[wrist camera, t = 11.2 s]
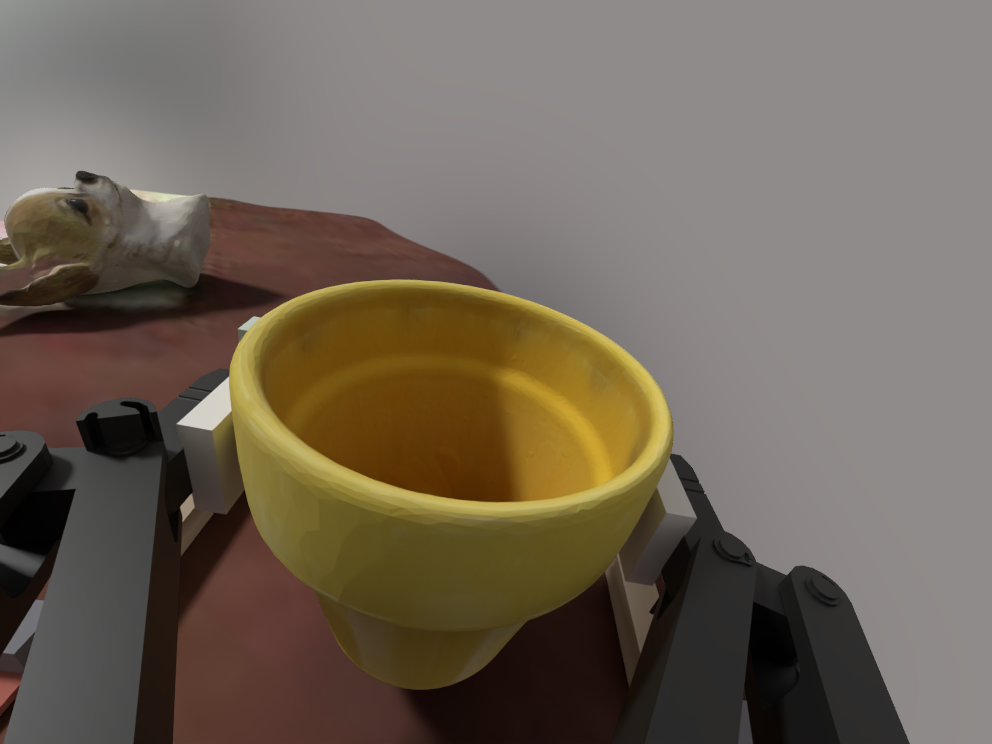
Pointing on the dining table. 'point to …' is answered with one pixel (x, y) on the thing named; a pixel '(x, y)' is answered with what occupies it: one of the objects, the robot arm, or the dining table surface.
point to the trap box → (625, 596)
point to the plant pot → (441, 464)
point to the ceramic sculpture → (98, 241)
